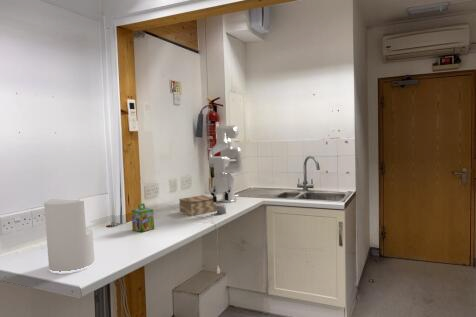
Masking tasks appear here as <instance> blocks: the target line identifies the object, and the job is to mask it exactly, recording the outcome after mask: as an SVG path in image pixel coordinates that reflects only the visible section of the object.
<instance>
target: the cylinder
mask: <svg viewBox="0 0 476 317" xmlns="http://www.w3.org/2000/svg"><path fill="white" fill-rule="evenodd" d="M43 206H44V207H43V208H44V218H45V219H44V220H45V231H46V245H47V257H48V258H47V260H48V270H49V269H50V270H52V271H59V272H61V271H71V270H77V269H81V268H84V267H86V266H89V265H91V264H92V263H93V262H94V260H96V259H95V246H94V233H93V232H94V231H93V229H91V228H87V227H86V213H85V212H86V211H85V200H76V199H75V200H74V199H73V200H70V199H47V200H45V201H44V202H43Z"/></svg>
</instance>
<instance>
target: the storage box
mask: <svg viewBox="0 0 476 317" xmlns="http://www.w3.org/2000/svg"><path fill="white" fill-rule="evenodd" d="M217 202H218V201H217ZM217 202H213V200H211V201H206V202H200V203H195V204H190V203H186V202H183V201H179V202H178V203H179V213H181V214H184V215H188V216H191V217H194V216H199V215H200V216H201V215H205V214H210V213H213V212H217V206H218V204H217Z"/></svg>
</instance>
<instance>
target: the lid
mask: <svg viewBox="0 0 476 317" xmlns="http://www.w3.org/2000/svg"><path fill="white" fill-rule="evenodd" d="M178 200H179V201H183V202H186V203H190V204H195V203H200V202H206V201H211V200H213V196H209V195H205V194H201V195H197V196H196V195H195V196H190V197H184V198H179V199H178Z"/></svg>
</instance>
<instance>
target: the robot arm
mask: <svg viewBox="0 0 476 317" xmlns="http://www.w3.org/2000/svg"><path fill="white" fill-rule="evenodd" d="M239 132H240V130H239V127H238V126H237V125H219V126H217V127H215V134H216V143H215V144H214V146H212V148H211V149H210V151H209V153H208V162H207V163H208V166H209V167H210V168H213V173H214V174H213V176H214V177H212V187H211V188H210V189H208V190H209V193H210V195H211V197H213V202H218V201H217V200H218V199H217V194H219V193H221V195H222V198H221V199H220V202H221V203H232V202H237V198H239V197H240V195H239V194H235V181H234V180H235V178H234V176H233V175H232V174H239V173H242V171H243V157H242V156H243V154H242V149H241V148H240V147H239V146H233V145H232V139H236V138H238V136H239ZM218 153H220V155H218V156H217V154H218ZM215 155H216V156H215Z"/></svg>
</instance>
